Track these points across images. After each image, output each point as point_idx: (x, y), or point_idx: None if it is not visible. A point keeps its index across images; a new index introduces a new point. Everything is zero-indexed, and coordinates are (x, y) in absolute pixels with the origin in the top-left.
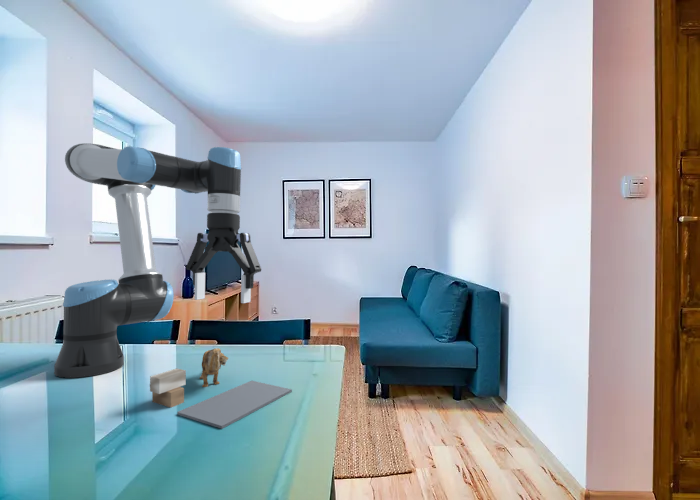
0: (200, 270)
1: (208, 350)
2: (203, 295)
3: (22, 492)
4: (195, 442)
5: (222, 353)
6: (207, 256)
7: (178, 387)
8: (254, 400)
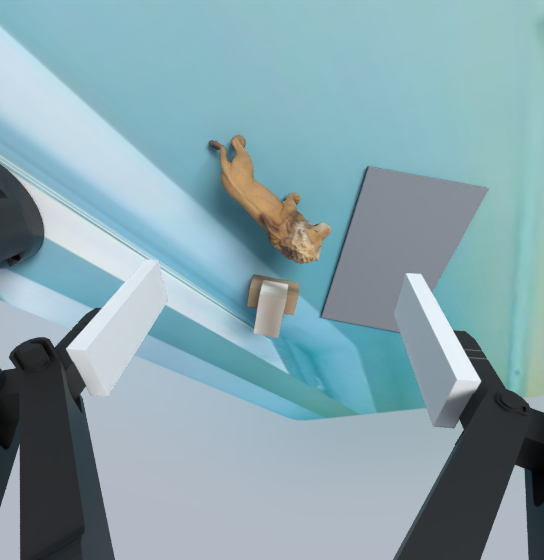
0: (66, 378)
1: (232, 186)
2: (154, 277)
3: (305, 419)
4: (392, 357)
5: (315, 236)
6: (101, 518)
7: (287, 296)
8: (422, 259)
